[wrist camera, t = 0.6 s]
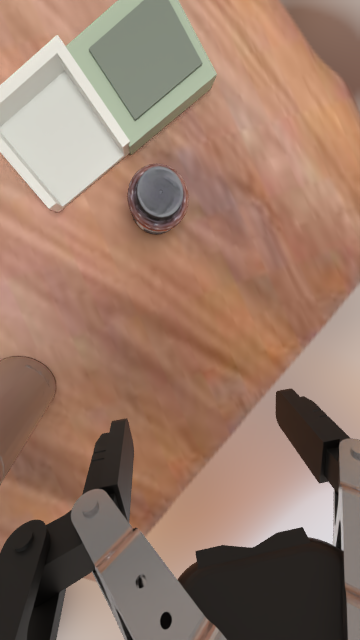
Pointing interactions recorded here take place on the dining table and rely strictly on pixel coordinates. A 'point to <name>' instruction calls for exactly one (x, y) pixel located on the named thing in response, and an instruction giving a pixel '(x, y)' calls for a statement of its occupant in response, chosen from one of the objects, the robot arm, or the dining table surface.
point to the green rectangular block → (144, 64)
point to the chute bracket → (57, 127)
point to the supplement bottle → (157, 198)
